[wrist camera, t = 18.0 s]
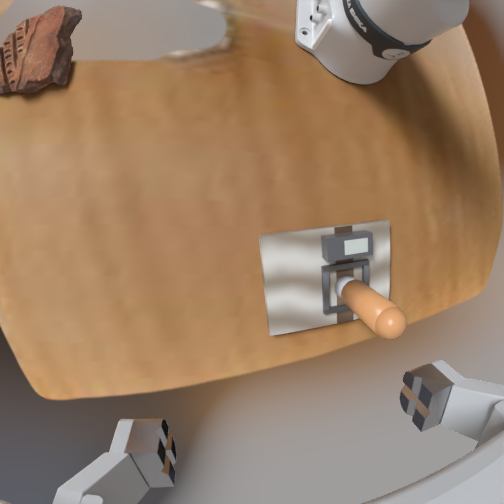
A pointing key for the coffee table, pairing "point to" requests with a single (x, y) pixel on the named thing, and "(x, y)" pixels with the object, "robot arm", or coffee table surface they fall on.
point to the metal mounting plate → (317, 276)
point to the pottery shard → (38, 51)
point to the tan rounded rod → (371, 307)
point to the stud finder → (347, 245)
